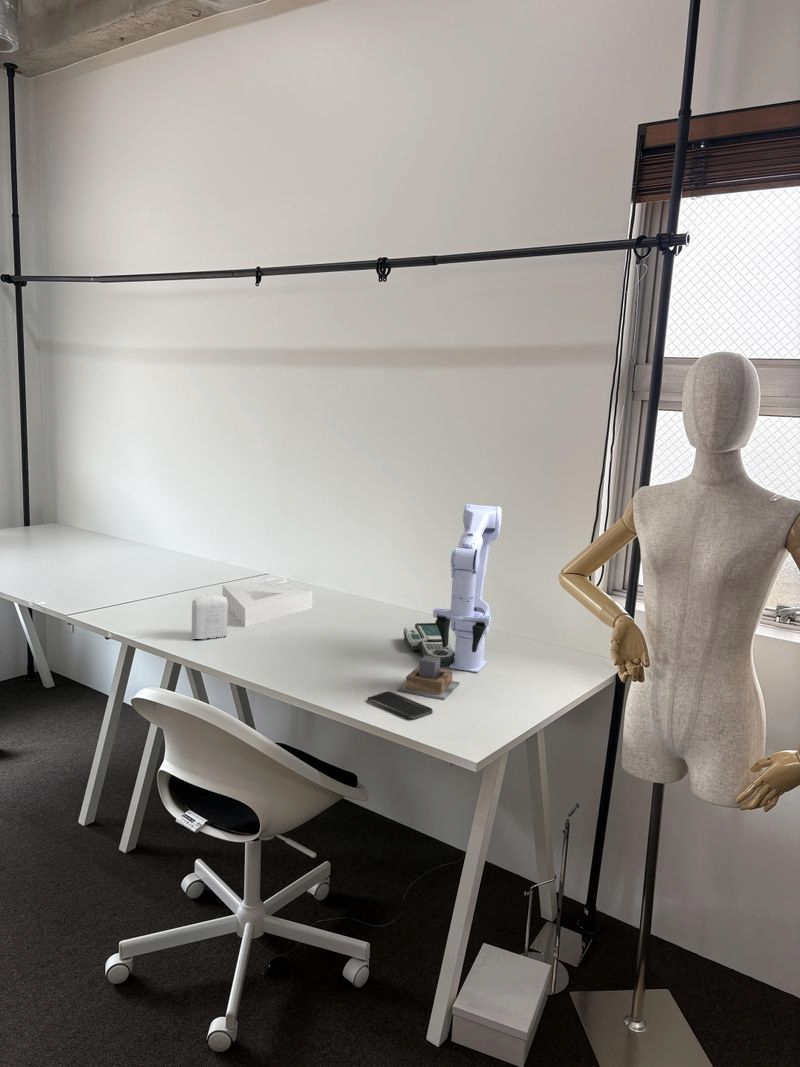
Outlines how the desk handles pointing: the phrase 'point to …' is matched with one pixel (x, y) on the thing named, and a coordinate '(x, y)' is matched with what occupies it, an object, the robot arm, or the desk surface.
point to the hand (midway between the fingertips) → (459, 648)
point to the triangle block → (265, 602)
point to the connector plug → (429, 667)
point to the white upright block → (209, 617)
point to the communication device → (428, 642)
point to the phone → (400, 705)
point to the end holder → (429, 685)
